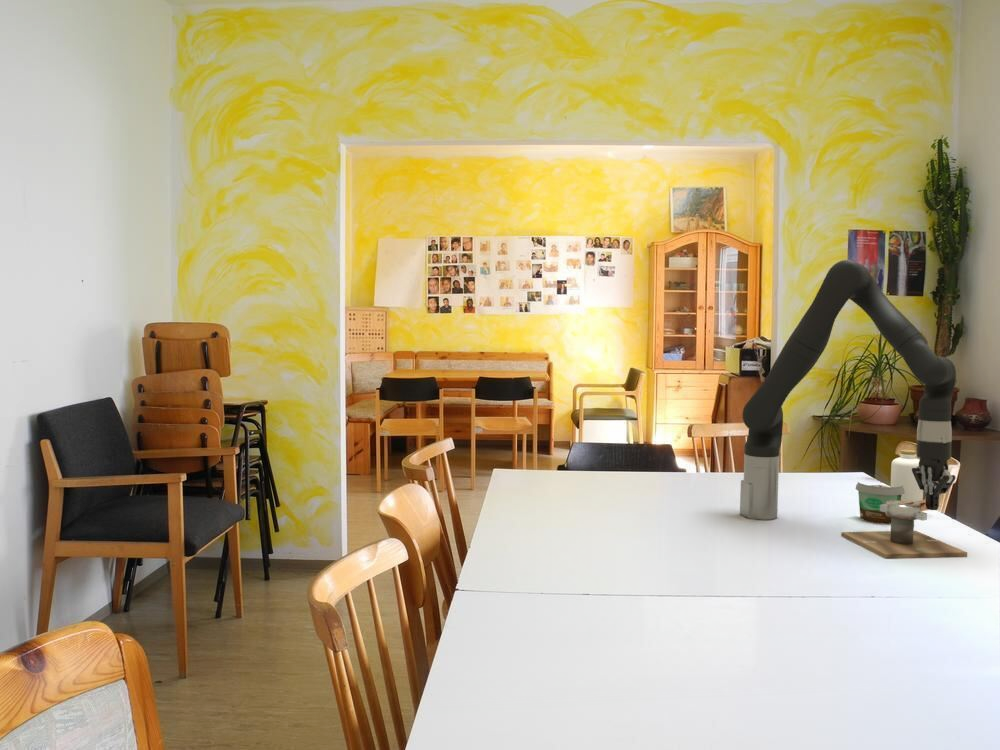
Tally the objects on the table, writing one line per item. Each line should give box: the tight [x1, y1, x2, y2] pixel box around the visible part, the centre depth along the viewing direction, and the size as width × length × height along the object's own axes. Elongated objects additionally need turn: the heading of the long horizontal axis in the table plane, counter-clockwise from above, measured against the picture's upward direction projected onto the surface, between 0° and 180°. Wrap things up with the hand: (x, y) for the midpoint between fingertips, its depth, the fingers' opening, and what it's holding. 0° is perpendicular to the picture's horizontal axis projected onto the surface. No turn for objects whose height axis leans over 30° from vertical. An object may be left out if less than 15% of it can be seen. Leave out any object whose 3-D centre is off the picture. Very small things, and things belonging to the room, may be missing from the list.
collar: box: [880, 499, 930, 521], centre depth 205 cm, size 16×11×3 cm
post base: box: [840, 518, 968, 559], centre depth 203 cm, size 20×20×7 cm
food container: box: [855, 481, 905, 524], centre depth 228 cm, size 12×6×10 cm, turn 62°
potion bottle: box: [890, 449, 924, 512], centre depth 237 cm, size 8×8×18 cm
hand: (932, 509), depth 205 cm, fingers closed
